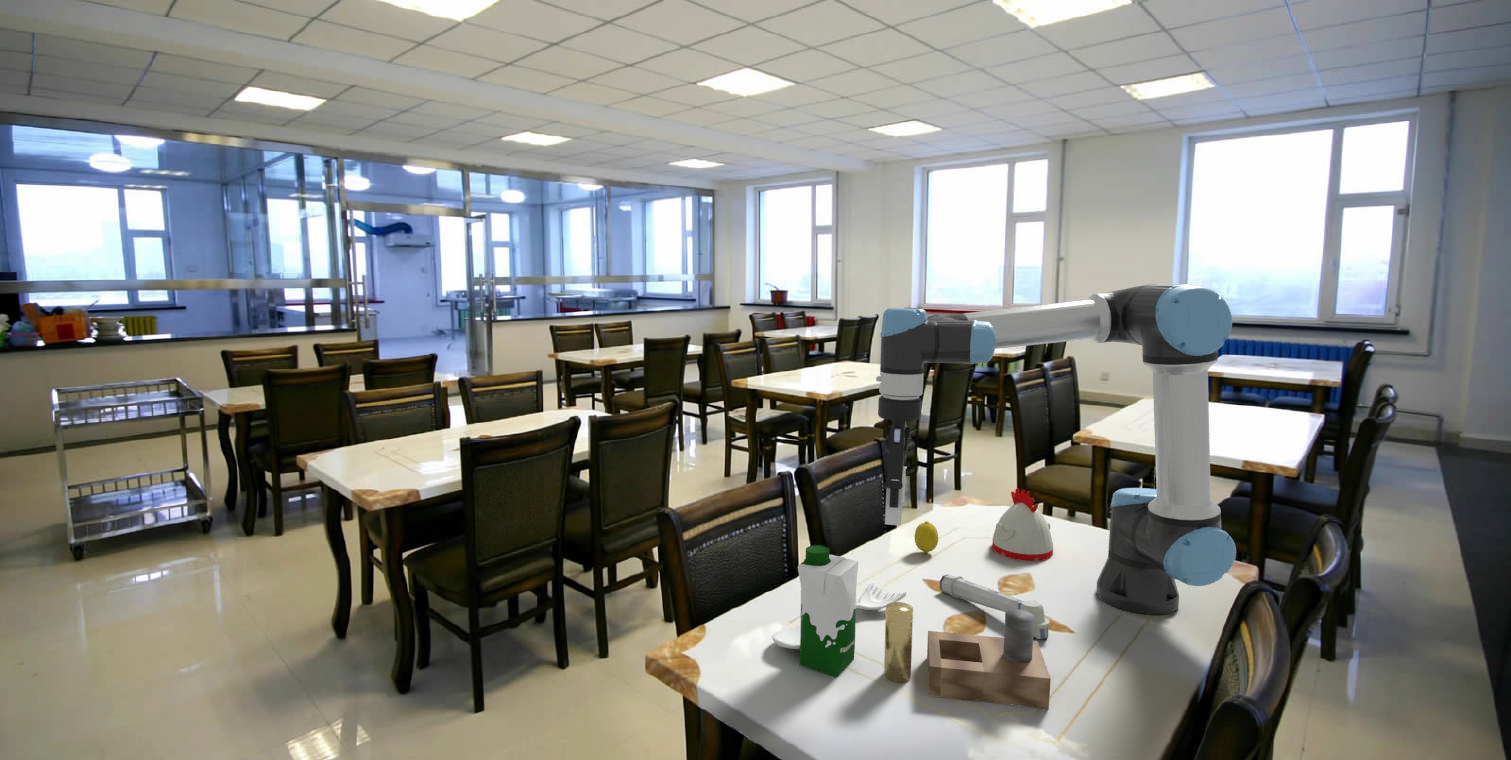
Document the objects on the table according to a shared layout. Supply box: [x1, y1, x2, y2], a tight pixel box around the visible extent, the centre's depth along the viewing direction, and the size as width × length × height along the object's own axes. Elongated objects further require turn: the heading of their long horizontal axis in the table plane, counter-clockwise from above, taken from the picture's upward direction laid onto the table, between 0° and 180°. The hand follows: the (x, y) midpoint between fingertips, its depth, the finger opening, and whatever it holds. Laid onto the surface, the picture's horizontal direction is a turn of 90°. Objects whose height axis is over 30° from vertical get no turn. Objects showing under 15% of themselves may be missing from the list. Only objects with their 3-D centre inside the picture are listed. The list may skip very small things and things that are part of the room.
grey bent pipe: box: [938, 574, 1051, 640], centre depth 146 cm, size 5×7×25 cm
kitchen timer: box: [991, 487, 1054, 562], centre depth 179 cm, size 14×14×15 cm
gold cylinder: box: [883, 601, 914, 684], centre depth 123 cm, size 4×4×12 cm
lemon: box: [914, 520, 939, 555], centre depth 177 cm, size 6×6×8 cm
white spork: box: [771, 582, 907, 650], centre depth 140 cm, size 9×32×4 cm, turn 133°
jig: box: [926, 609, 1052, 710], centre depth 121 cm, size 18×12×12 cm, turn 79°
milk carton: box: [797, 544, 859, 678], centre depth 126 cm, size 9×9×20 cm
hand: (895, 512), depth 133 cm, fingers open, 13 cm apart
